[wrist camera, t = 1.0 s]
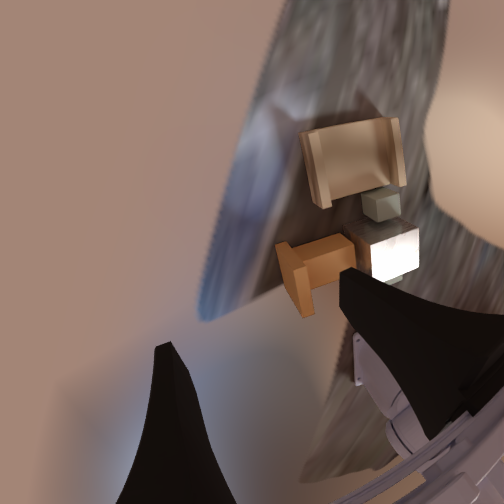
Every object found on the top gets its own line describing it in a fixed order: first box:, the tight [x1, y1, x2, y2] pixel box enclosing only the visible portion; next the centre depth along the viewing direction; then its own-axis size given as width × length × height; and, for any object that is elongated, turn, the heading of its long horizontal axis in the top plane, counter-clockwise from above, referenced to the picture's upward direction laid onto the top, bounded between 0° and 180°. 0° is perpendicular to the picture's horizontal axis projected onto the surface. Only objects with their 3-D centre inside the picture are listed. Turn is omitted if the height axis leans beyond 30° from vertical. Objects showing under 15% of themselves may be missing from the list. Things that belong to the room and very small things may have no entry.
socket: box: [361, 187, 402, 285], centre depth 27 cm, size 9×2×3 cm, turn 14°
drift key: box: [275, 233, 357, 318], centre depth 25 cm, size 4×6×5 cm
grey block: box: [342, 216, 419, 282], centre depth 26 cm, size 4×5×5 cm
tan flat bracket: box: [298, 117, 406, 209], centre depth 24 cm, size 6×8×2 cm
